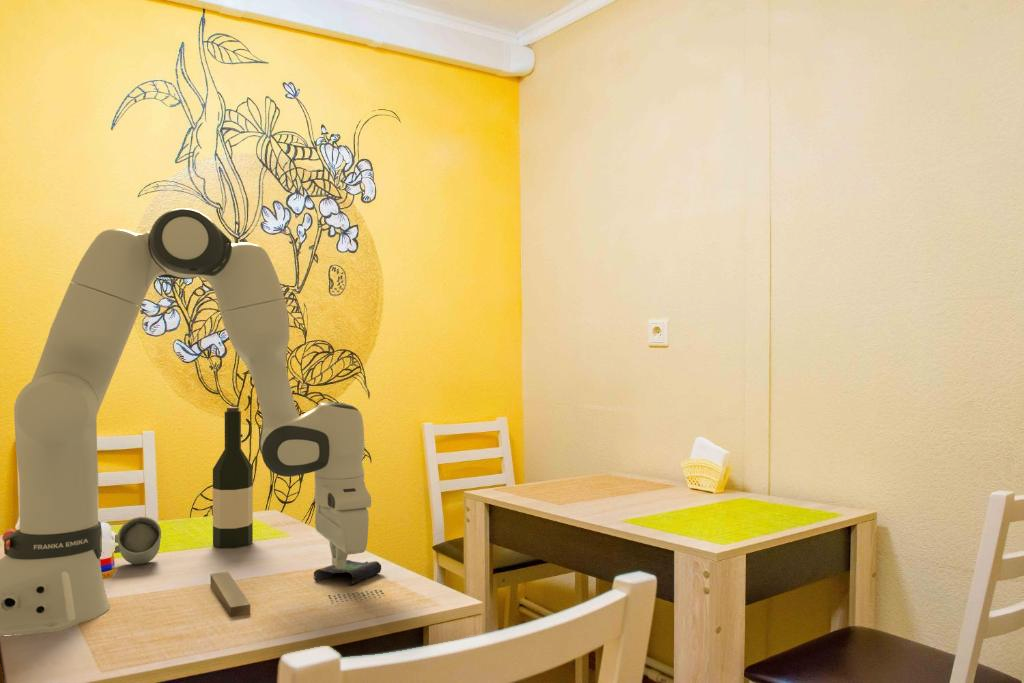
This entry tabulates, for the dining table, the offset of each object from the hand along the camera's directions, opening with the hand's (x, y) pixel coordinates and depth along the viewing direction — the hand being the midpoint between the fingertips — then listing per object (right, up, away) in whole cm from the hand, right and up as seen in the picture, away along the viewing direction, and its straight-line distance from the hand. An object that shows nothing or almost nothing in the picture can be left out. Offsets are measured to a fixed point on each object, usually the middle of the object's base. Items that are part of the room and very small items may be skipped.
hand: (339, 567), depth 144 cm
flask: (0, -5, -1) cm, 5 cm away
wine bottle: (-30, -4, +31) cm, 44 cm away
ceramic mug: (-44, -4, +13) cm, 46 cm away
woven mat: (+6, -5, -11) cm, 13 cm away
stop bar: (-17, -4, -9) cm, 20 cm away
